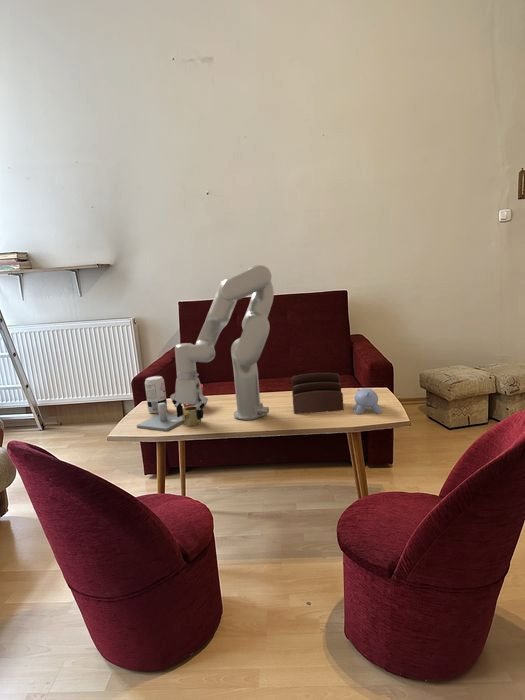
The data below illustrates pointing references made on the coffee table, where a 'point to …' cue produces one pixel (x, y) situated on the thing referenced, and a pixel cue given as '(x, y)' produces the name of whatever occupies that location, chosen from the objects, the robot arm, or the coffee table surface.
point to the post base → (160, 424)
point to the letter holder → (317, 393)
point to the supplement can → (155, 393)
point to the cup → (190, 416)
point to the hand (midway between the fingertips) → (190, 417)
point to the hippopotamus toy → (366, 401)
